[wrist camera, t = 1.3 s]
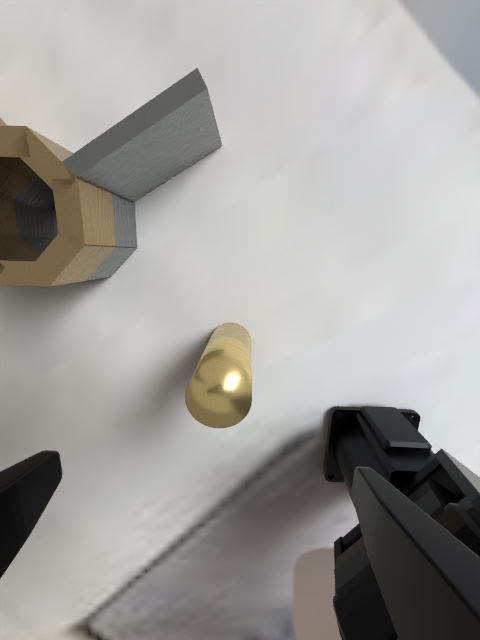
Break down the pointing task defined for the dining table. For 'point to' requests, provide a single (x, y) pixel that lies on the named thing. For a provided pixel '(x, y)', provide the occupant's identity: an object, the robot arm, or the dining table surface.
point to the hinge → (94, 187)
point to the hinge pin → (222, 379)
